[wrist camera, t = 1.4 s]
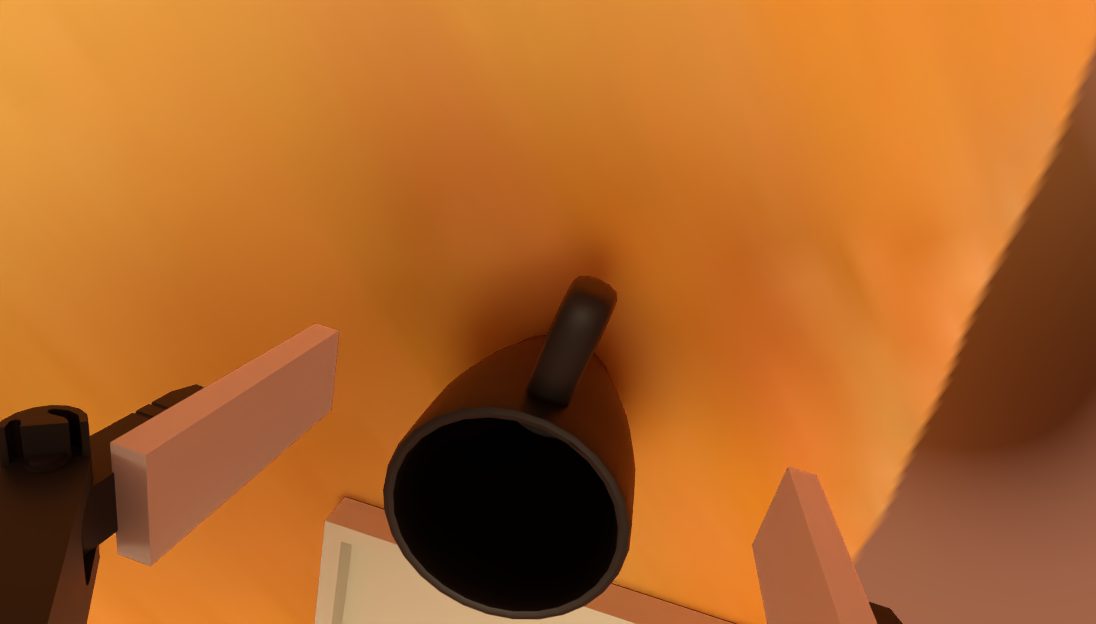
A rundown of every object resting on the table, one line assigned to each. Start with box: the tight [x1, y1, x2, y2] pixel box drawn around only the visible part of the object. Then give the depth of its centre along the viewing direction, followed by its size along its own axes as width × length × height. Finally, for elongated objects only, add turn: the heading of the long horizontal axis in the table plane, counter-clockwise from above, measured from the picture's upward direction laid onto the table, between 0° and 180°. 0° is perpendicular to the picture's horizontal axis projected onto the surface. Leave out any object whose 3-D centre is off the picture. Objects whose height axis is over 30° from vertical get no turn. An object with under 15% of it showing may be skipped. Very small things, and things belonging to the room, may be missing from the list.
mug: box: [383, 276, 635, 620], centre depth 22 cm, size 8×12×10 cm
